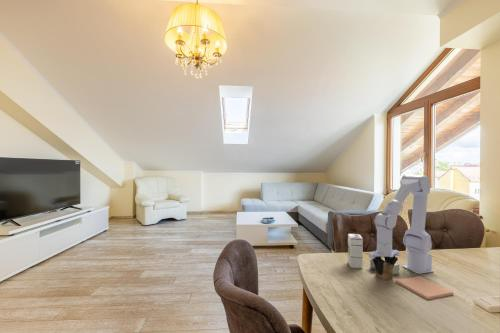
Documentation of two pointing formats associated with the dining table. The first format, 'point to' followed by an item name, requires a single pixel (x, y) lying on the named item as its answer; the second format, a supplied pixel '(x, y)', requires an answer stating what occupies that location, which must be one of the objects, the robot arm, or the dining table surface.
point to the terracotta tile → (424, 287)
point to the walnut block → (386, 271)
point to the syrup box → (355, 251)
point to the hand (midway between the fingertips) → (383, 273)
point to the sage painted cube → (396, 269)
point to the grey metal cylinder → (372, 265)
